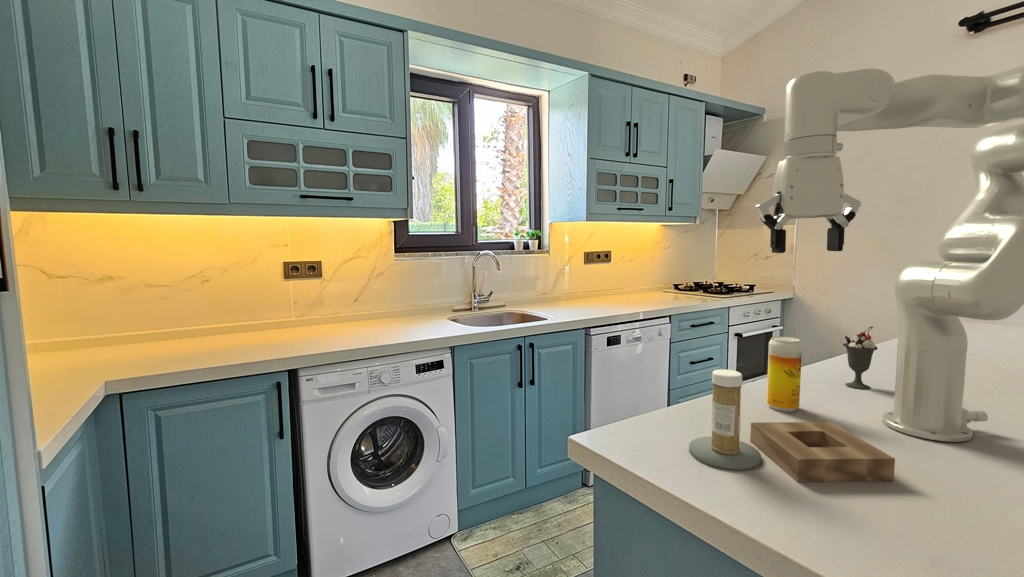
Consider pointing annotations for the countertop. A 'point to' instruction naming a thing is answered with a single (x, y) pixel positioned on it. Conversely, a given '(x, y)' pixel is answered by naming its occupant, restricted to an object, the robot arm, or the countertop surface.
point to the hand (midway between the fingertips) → (806, 251)
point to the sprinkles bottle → (726, 411)
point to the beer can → (784, 373)
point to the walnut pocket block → (821, 452)
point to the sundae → (859, 357)
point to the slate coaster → (724, 455)
